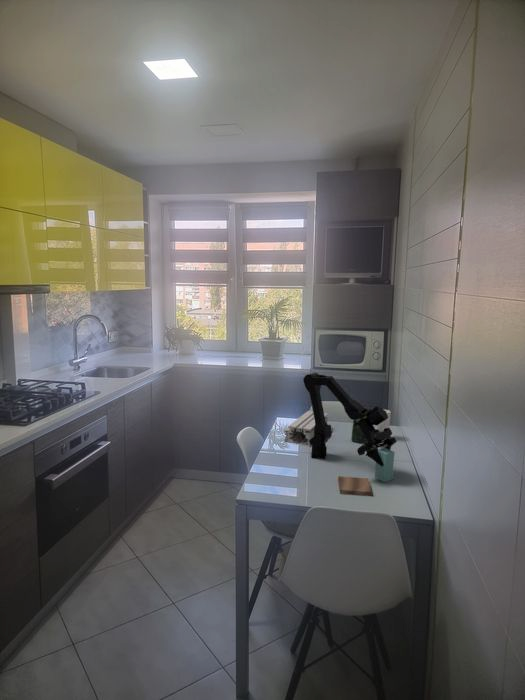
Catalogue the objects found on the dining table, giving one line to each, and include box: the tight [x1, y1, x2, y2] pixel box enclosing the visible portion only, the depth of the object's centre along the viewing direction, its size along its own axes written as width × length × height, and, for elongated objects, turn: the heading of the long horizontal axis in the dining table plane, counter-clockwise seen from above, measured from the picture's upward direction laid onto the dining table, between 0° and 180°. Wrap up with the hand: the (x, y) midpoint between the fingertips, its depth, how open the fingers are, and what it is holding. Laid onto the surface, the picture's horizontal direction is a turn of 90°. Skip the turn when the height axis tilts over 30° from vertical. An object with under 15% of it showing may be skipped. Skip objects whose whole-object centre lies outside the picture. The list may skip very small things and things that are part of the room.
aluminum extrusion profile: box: [282, 410, 329, 447], centre depth 229 cm, size 14×31×10 cm, turn 155°
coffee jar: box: [350, 405, 372, 444], centre depth 221 cm, size 10×8×19 cm
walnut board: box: [337, 475, 373, 497], centre depth 170 cm, size 12×12×2 cm
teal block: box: [374, 448, 395, 483], centre depth 178 cm, size 5×5×12 cm
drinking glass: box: [376, 408, 392, 432], centre depth 226 cm, size 7×7×15 cm
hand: (387, 464), depth 176 cm, fingers closed on teal block, 5 cm apart
